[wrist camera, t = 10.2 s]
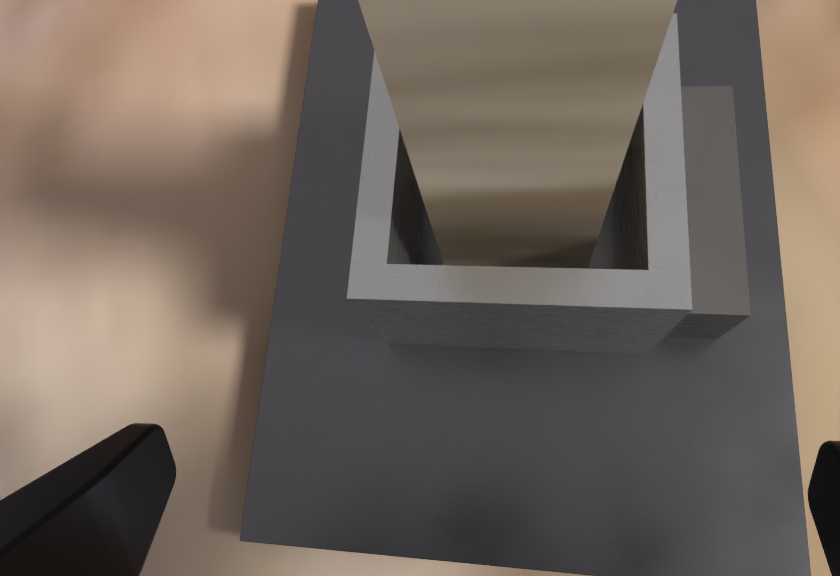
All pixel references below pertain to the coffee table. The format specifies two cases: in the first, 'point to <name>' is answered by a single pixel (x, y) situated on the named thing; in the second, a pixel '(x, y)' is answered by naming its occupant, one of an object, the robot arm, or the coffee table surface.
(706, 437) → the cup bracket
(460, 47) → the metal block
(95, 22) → the coffee table surface
